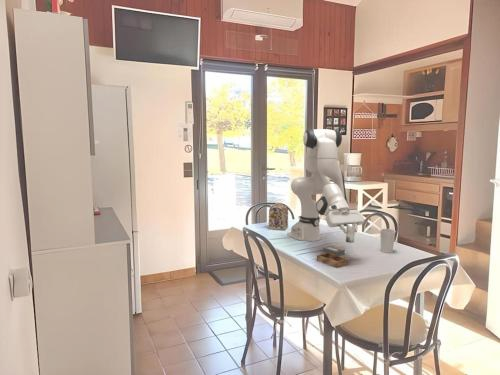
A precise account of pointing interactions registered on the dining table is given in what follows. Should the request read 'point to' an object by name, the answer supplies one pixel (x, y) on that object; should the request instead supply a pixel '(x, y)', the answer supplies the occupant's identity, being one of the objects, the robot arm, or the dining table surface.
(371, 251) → the dining table surface
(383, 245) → the cup
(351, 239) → the steel cell
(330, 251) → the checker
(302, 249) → the dining table surface
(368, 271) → the dining table surface
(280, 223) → the decorative jar
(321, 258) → the brown wooden shallow tray
